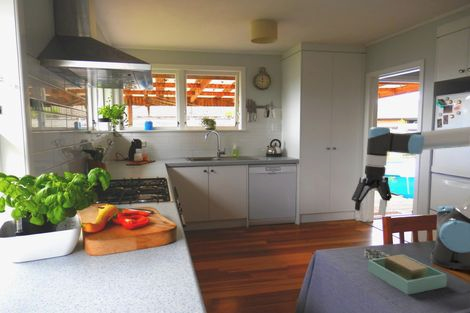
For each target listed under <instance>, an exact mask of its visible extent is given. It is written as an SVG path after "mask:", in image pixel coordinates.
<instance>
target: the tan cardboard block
mask: <svg viewBox="0 0 470 313" xmlns="http://www.w3.org/2000/svg"><path fill="white" fill-rule="evenodd" d="M402 255H403V254H397V255H396V254H395V255H390V256H388V257H385V268H386V269H388V270H389V271H391V272H393V273H395V274H397V275H398V276H400V277H402V278H404V279H406V280H407V281H408V280H414V279H419V278H424V277H427V270H428V267H425V266H423V265H421V264H419V263H417V262H415V261H413V260H410V259H408V258H406V257H404V256H402Z"/></svg>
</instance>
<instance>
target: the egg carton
mask: <svg viewBox="0 0 470 313" xmlns="http://www.w3.org/2000/svg"><path fill="white" fill-rule="evenodd" d="M363 250H364V257H367V259H368V260H371V259H377V258H378V257H379V258H384V257H388V256H391V255H390V254H388V253H385V252H384V251H383V252H382V251H380V250H379V249H376V250H375V248H365V247H364V248H363ZM378 255H379V256H378Z"/></svg>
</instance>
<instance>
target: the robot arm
mask: <svg viewBox="0 0 470 313" xmlns="http://www.w3.org/2000/svg"><path fill="white" fill-rule="evenodd" d="M467 147H468V148H469V147H470V126H465V127H455V128H445V129H438V130H437V129H436V130H427V131H417V132H406V133H398V132H396V133H395V132H391V129H390V127H380V126H378V127H377V126H372V127H370V128H369V131H368V137H367V148H366V158H365V164H366V165H365V167H364V174H365V177H363V176H362V177H359V180H358V184H357V185H356V188H355V191H354V193H353V194H352V196H351V200H352V201H353V202H355V203H354V210H355V211H354V212H355V213H354V218H356V219H359V220H362V216H363V215H362V214H363V204H364V203H363V201H364V199H365V198H366V197H367V195H368V193H369V192H370V191H371V190H373V189H376V190H377V192H378V194H379V196H380V199H379V205H378V213H377V214H378V216H379V215H380V216H383V217H385V216H386V211H387V207H388V202H390V200H391V199H392V192H391V189H390V184H389V177H387V176H386V165H387V158H388V152H389V153H397V154H398V153H399V154H408V155H422V154H423V151H426V150H429V151H430V150H438V149H439V150H441V149H451V148H452V149H455V148H467ZM435 236H436V237H435V238H436V241H435V243H434V246H433V247H432V250H431V252H430V261H431V262H432V263H434V264H436V265H437V266H441V267H442V268H446V267H447V268H446V269H450V268H453V269H452V270H455V269H459V270H458V271H470V196H469V197H468V198H467V199H466V200H465V201H464V203H463V204H461V205H455V206H454V205H439V206H438V207H437V211H436V235H435Z"/></svg>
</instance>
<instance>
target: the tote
mask: <svg viewBox="0 0 470 313" xmlns="http://www.w3.org/2000/svg"><path fill="white" fill-rule="evenodd" d="M401 255H402V256H404V257H406V258H408V259H410V260H413V261H415V262H417V263H419V264H421V265H423V266H425V267H428V270H427V277H424V278H419V279H414V280H408V281H407V280H406V279H404V278H402V277H400V276H398V275H397V274H395V273H393V272H391V271H389V270H388V269H386V268H385V257H384V258H383V257H379V258H378V257H377V258H376V259H368V260H367V272H368V273H371V274H372V275H374V276H375V277H377V278H379V279H381V280H382V281H384V282H386V283H387V284H389V285H390V286H392V287H394V288H395V289H398V290H399V291H400V292H402V293H404V294H406V295H408V296H409V295H413V294H417V293H424V292H427V291H433V290H436V289H437V290H438V289H443V288H447V287H448V286H447V284H448V283H447V281H448V280H447V279H448V274H447V273H444V272H442V271H440V270H438V269H436V268H433V267H431V266H429V265H427V264H424V263H422V262H420V261H418V260H416V259H414V258H412V257H410V256H408V255H405V254H401Z"/></svg>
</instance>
